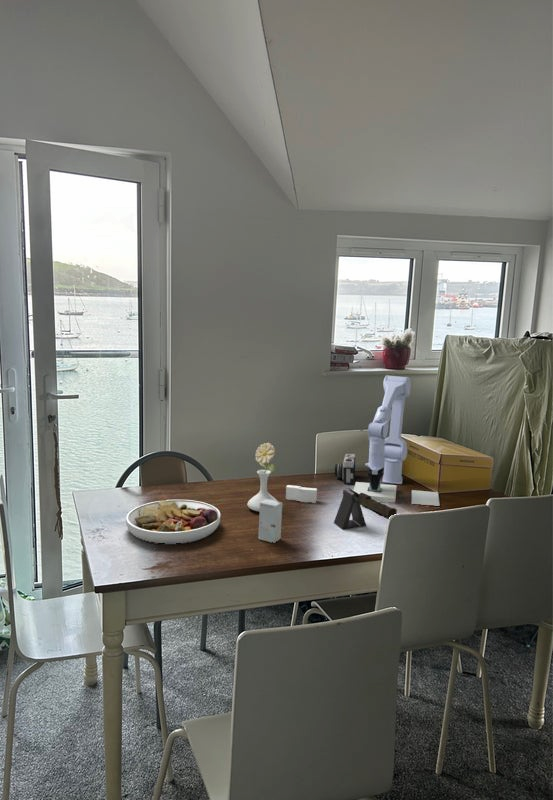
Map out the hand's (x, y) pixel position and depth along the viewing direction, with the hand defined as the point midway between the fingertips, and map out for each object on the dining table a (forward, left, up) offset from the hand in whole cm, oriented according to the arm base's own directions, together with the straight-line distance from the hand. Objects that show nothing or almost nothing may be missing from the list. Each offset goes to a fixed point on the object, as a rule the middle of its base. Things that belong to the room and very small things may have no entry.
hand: (374, 487), depth 235 cm
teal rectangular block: (0, 0, -3) cm, 3 cm away
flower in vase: (+28, -37, -3) cm, 47 cm away
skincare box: (+53, -29, -3) cm, 60 cm away
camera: (-17, -13, -3) cm, 22 cm away
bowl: (+53, -61, -3) cm, 81 cm away
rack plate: (0, 0, -3) cm, 3 cm away
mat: (0, +19, -3) cm, 19 cm away
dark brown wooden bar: (+18, +1, -3) cm, 19 cm away
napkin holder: (+14, -27, -4) cm, 30 cm away
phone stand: (+34, -6, -3) cm, 35 cm away
